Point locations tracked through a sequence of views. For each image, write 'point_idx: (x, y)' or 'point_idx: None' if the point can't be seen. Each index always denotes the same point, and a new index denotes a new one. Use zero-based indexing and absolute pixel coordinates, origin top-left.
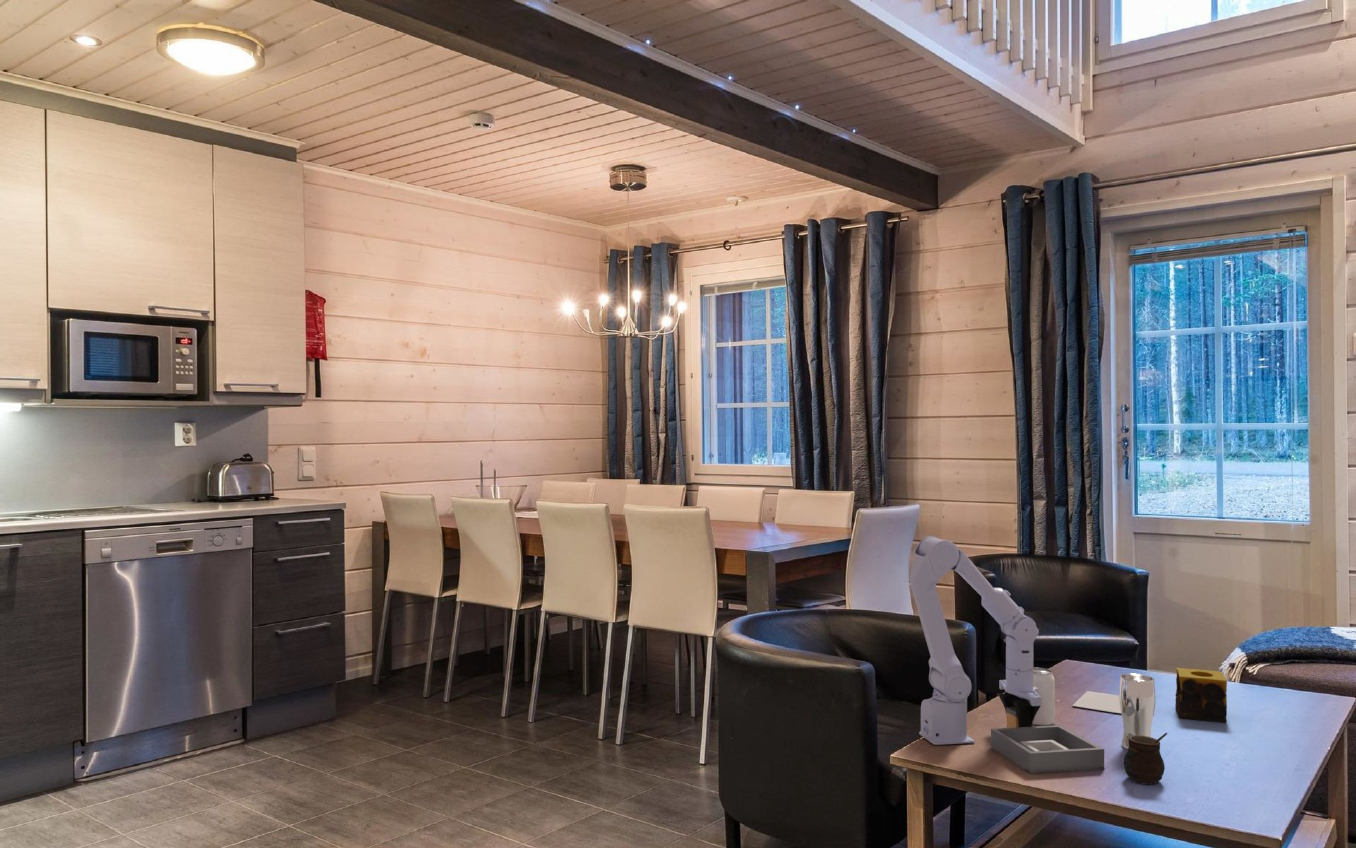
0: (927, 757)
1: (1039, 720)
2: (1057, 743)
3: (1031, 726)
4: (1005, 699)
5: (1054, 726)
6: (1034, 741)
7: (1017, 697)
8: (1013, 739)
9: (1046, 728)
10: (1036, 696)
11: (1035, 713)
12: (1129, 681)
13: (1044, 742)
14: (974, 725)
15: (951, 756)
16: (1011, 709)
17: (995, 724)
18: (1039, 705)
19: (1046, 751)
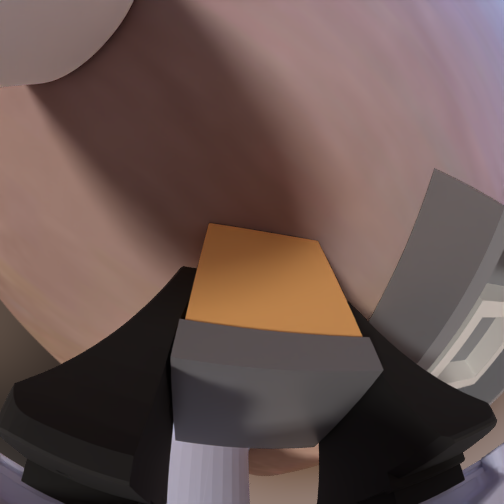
0: (290, 467)
1: (101, 27)
2: (501, 307)
3: (357, 313)
4: (165, 489)
5: (495, 258)
6: (442, 364)
7: (152, 478)
8: None
9: (468, 307)
10: (498, 500)
11: (425, 379)
12: None
13: (467, 337)
14: (69, 334)
15: (308, 454)
16: (246, 446)
17: (50, 257)
18: (501, 448)
19: (499, 394)
